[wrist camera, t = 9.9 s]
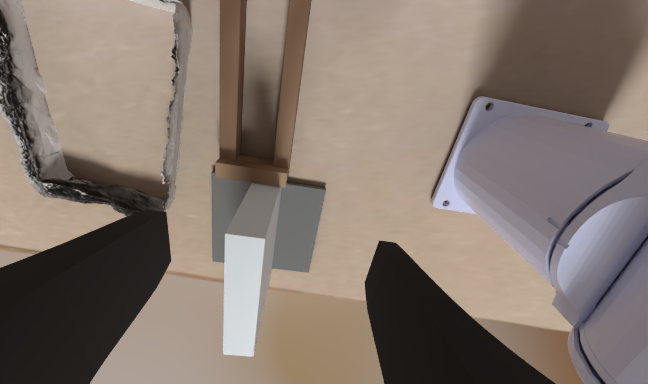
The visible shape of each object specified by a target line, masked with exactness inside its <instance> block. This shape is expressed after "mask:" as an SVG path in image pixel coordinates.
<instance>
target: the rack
mask: <svg viewBox="0 0 648 384" xmlns="http://www.w3.org/2000/svg"><path fill="white" fill-rule="evenodd" d="M246 4H247V0H220V158H219V159H218V160H217V161H216V162H215V177H217V178H224V179H230V180H237V181H244V182H250V183H257V184H263V185H270V186H277V187H283V188H285V187H286V183H287V179H288V174H289V167H290V159H291V151H292V144H293V136H294V129H295V121H296V113H297V106H298V98H299V90H300V83H301V75H302V68H303V60H304V52H305V45H306V37H307V30H308V22H309V14H310V7H311V0H290V4H289V14H288V24H287V34H286V44H285V53H284V63H283V73H282V83H281V93H280V103H279V113H278V123H277V133H276V142H275V152H274V160H271V159H265V158H259V157H252V156H246V155H240V153H241V129H242V104H243V79H244V54H245V29H246Z"/></svg>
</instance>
